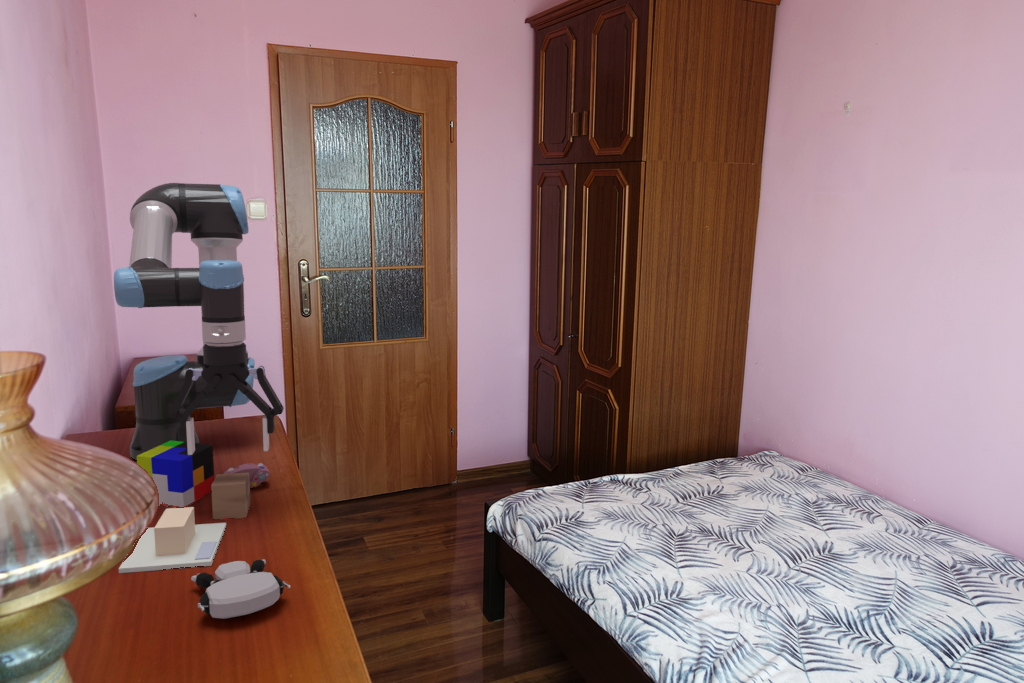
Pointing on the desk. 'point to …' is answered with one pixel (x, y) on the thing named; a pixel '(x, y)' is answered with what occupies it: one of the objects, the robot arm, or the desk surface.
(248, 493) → the walnut block
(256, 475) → the video game controller
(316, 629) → the desk surface
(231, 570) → the robot toy
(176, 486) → the puzzle toy
